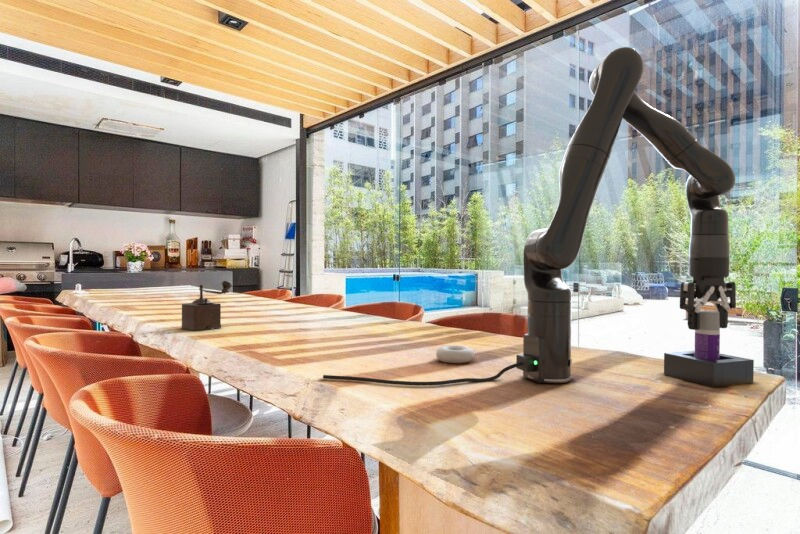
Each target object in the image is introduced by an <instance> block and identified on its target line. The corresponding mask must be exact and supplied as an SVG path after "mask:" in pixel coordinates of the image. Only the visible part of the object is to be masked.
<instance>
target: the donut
mask: <svg viewBox="0 0 800 534" xmlns="http://www.w3.org/2000/svg"><path fill="white" fill-rule="evenodd" d="M435 351H436V352H435V356H436V358H437V360H438V361H440V362H442V363H446V364H467V363H470V362H471V361H473V360H474V359H475V352H474V349H472V348H470V347H469V346H464V345H443V346H440V347H438V348H437V349H436V350H435Z"/></svg>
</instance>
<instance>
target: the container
mask: <svg viewBox="0 0 800 534" xmlns="http://www.w3.org/2000/svg"><path fill="white" fill-rule="evenodd" d="M698 313H700V329H699V330H694V351H695V357H696V358H701V359H706V360H711V361H712V360H719V354H721V351H720V348H721V347H720V344H721V328H720V317H719V312H718V310H702V309H700V311H699V312H698Z"/></svg>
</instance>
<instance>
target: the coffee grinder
mask: <svg viewBox="0 0 800 534" xmlns="http://www.w3.org/2000/svg"><path fill="white" fill-rule="evenodd" d="M221 286H222V288H221V289H222V290H221V291H216V290H208V289H205V288H204V285H203V284H199V288H198V290H199V298H196V299H195V300H193V301H192V302H189V303H187V302H186V303H181V329H182V328H183V330H186V331H188V330H189V331H193V332H198V331H199V332H200V331H206V330H208V331H209V330H214V329H220V328H222V326H221V322H222V321H221V314H222V313H221V310H222V309H221V307H222V306H221V305H222V304H221V303H220V302H219V303H217V302H212V301H211V300H209V299H208V298H204V296H203V295H204V293H210V294H215V295H216V294H217V295H222V294H223V295H225V294H229V293H230V289H231V288H232V287H233V283H232V281H231V280H226V279H225V280H222V282H221Z"/></svg>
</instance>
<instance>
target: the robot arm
mask: <svg viewBox="0 0 800 534" xmlns="http://www.w3.org/2000/svg"><path fill="white" fill-rule="evenodd" d="M643 74H644V60H643V58H642V55H641V53H640V52H639V51H638V50H636V49H635V48H633V47H629V46H622V47H618V48H616V49H613V50H612V51H611V52H609V53H608V54H606V55H605V56H604V58H603V59H602V60H601V61H600V62H599V64H598V65H597V66H596V67H595V68H594V70H593V71H592V73H591V75H590V77H589V82H588V83H589V89H590V92H591V94H592V95H593V97H592V101H591V103H590V105H589V107H588V108H587V111H586V112H585V114H584V115H583V117H582V119H581V121H580V122H579V124H578V126H577V127H576V129H575V131H574V133H573V135H572V137H571V139H570V140H569V142H568V145H567V147H566V149H565V152H564V154H563V158H562V160H561V164H560V167H559V173H558V183H559V185H558V187H559V199H558V203H557V207H556V209H555V213H554V214H553V217H552V218H551V221H550V224H549V225H548V227H545V228H539V229H536V230H533V231H532V232H531V233H530V234H529V235H527V238H526V239H525V242H524V244H523V253H522V254H523V255H522V256H523V257H522V258H523V281H524V282H523V283H524V287H525V291H526V293H527V294H526V295H527V323H526V324H527V327H526V328H527V332H526V333H524V334H523V339H522V340H523V342H522V343H523V347H522V353H520V354H516V357H515V358H516V359H515V360H516V363H513V364H510V365H508V366H505V367H504V368H502V369H500V371H498V373H496V374H495V375H493V376H490V377H481V378H479V377H477V378H475V377H462V378H453V379H446V380H438V381H437V380H435V381H408V380H407V381H406V380H391V379H381V378H373V377H372V378H371V377H362V376H350V375H349V376H348V375H331V374H330V375H329V374H323V375H322V379H325V380H339V381H340V380H342V381H355V382H356V381H357V382H367V383H374V384H375V383H377V384H384V385H386V384H387V385H397V386H398V385H399V386H416V387H417V386H418V387H420V386H422V387H423V386H424V387H426V386H443V385H451V384H459V383H482V382H483V383H484V382H492V381H495V380H497V379H499V378H500V377H501V376H502V375H503V374H504V373H505V372H507V371H510V370H512V369H515V368H516V369H518V370H520V371H522V377H523V378H525V379H528V380H530V381H533V382H536V383H538V384H565V383H569V382H571V381H572V374H571V373H572V365H573V358H572V289H571V288H570V287H569V286H568V285H567V284H566V283H565V281H564V278H563V270H565V269H568V268H570V267H571V266H572V265H573V264H574V263H575V261H576V260H577V258H578V256H579V254H580V250H581V246H582V243H583V239H584V234H585V231H586V227H587V223H588V219H589V214H590V212H591V209H592V206H593V204H594V200H595V198H596V195H597V192H598V190H599V187H600V184H601V181H602V179H603V177H604V174H605V171H606V169H607V167H608V164H609V161H610V158H611V155H612V151H613V149H614V145H615V143H616V139H617V138H618V134H619V132H620V128H621V124H622V121H623V120H624V122H626V123H627V124H628V125H629V126H631V127H632V128H633V129H634V130H635V131H637V132H638V133H639V134H640V135H641V136H643V138H645V139H646V141H648V142H649V144H650V145H652V147H653V148H654V149H655V150H656V151H657V152H658V153H659V154H660V156H661V157H663V158H664V160H665V161H666V162H667V163H668V164H669V166H671V167H672V168H673V169H677V170H683V171H685V173H687V174H688V175H689V176H688V177H687V180H686V183H685V196H686V201H687V202H686V203H687V206H688V211H689V214H690V219H691V220H690V238H689V246H688V250H689V251H688V276H689V277H691V278H692V282H690V281H681V282H680V290H679V309H680V310H684V311H685V312H686V313H687V328H688V329H689V330H691V331H695V330H699V329H700V313H698V312H699V311H700V310H702V308H703V306H705V305H706V304H707V303H708V302H710V303H711V304H713V306H714V308H715V311H718V312H719V317H720V329H727V328H728V324H729V312H730V311H731V309H736V307H737V294H736V293H737V292H736V282H735V281H725V278H728V277H729V276H730V239H729V213H728V211H727V210H726V209H724V208H722V207H721V204H720V196H723V195H725V194H727V193H729V192H730V191H731V190H732V189H733V188H734V187H735V185H736V174H735V172H734V169H733V168H732V167H731V165H729V164H728V162H726V160H724V159H723V158H722V157H720V156H719V155H717V154H716V153H714V151H711V150H710V149H709V148H707V147H705V146H704V145H703V144H701V143H700V142H699V140H698V139H697V138H696V137H695V136H694V134H692V133H691V131H690V130H689V129H688V128H686V126H685V125H684V124H683V123H681V122H680V121H679V120H677V119H676V118H675V117H673V116H671V115H669V114H667V113H664V112H663V111H661V110H658V109H657V108H655V107H653V106H651V105H650V104H648V103H647V102H646V101H644V99H642V97H640V96H639V94H638V93H637V92H636V89H637V88H638V86H639V83H640V81H642V77H643ZM728 298H729V299H728ZM728 301H729V302H728Z"/></svg>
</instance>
